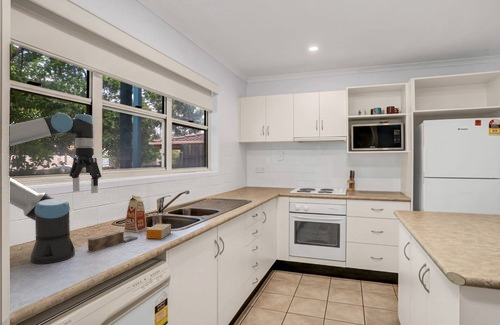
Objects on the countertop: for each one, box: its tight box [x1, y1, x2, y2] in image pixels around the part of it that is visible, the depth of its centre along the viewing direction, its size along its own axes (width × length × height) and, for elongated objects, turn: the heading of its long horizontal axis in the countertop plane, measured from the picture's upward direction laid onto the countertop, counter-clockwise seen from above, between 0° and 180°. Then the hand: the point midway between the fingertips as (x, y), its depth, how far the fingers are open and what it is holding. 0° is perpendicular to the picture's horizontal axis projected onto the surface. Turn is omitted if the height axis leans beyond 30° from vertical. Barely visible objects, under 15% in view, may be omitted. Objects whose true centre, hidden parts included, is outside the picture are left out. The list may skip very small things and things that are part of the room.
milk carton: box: [123, 195, 148, 233], centre depth 166 cm, size 9×9×20 cm
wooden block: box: [87, 230, 138, 252], centre depth 139 cm, size 23×6×5 cm, turn 152°
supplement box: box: [145, 223, 172, 240], centre depth 153 cm, size 8×5×13 cm
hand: (85, 192), depth 138 cm, fingers open, 13 cm apart
